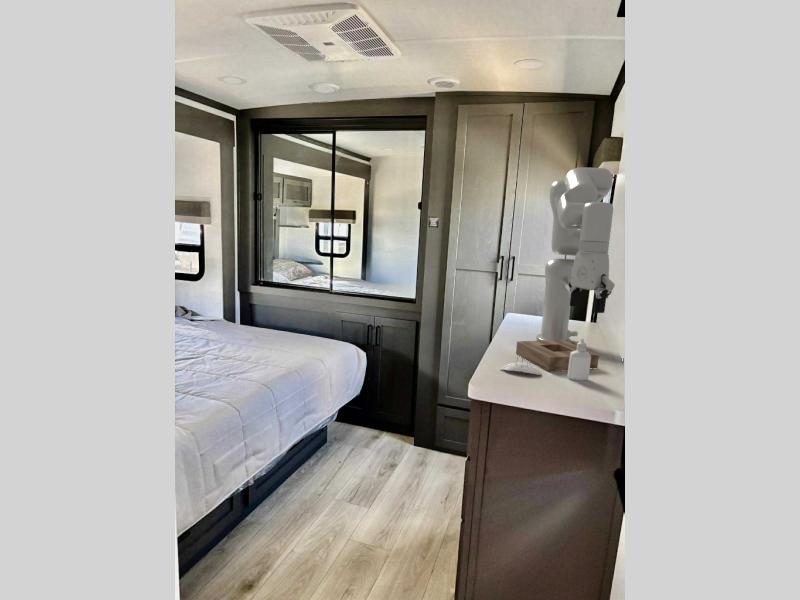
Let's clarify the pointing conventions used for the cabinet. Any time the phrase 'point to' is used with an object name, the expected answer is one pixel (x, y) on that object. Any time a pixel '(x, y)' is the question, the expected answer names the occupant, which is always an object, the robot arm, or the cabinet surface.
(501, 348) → the cabinet surface
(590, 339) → the cabinet surface
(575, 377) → the eye dropper bottle
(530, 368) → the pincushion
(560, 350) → the walnut socket block
